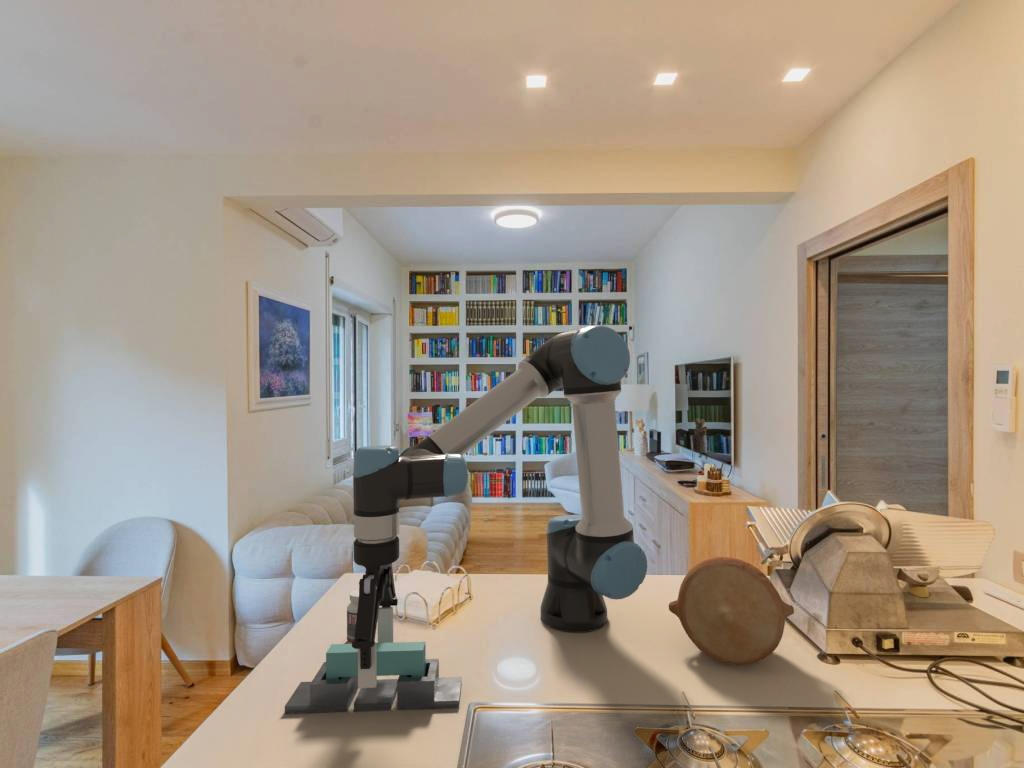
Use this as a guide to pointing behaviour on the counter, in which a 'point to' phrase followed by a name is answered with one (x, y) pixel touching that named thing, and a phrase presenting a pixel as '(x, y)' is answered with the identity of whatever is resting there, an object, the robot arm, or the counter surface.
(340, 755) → the counter surface
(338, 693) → the rail
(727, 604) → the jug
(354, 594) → the pill bottle
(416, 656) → the clip
